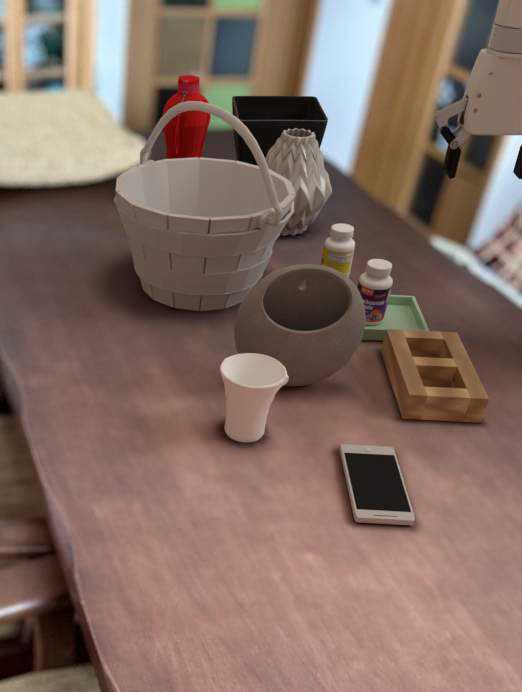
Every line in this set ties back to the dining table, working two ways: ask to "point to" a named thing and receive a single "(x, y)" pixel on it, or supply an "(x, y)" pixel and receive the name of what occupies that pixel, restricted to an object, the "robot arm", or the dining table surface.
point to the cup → (250, 393)
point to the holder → (433, 376)
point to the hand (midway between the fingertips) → (483, 175)
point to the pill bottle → (375, 290)
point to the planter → (302, 321)
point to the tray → (397, 318)
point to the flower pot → (275, 120)
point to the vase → (301, 176)
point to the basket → (202, 220)
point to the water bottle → (186, 122)
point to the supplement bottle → (339, 248)
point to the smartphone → (376, 485)
